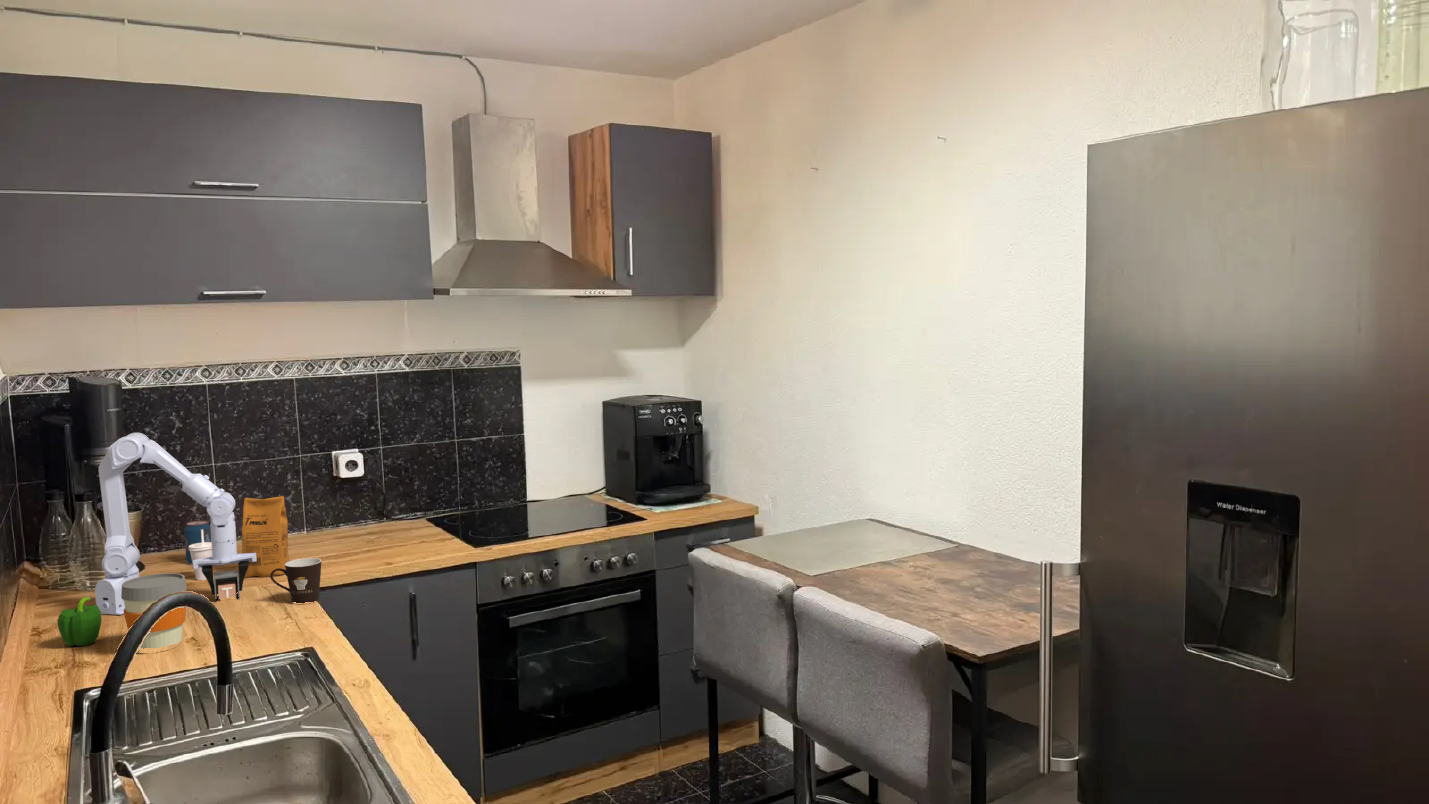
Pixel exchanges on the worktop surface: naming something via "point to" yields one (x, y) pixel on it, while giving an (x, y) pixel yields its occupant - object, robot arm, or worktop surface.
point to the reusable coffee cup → (148, 591)
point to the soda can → (195, 535)
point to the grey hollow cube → (226, 579)
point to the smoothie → (200, 554)
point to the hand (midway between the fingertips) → (227, 591)
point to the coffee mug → (302, 579)
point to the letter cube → (226, 589)
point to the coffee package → (265, 535)
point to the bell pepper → (80, 624)
